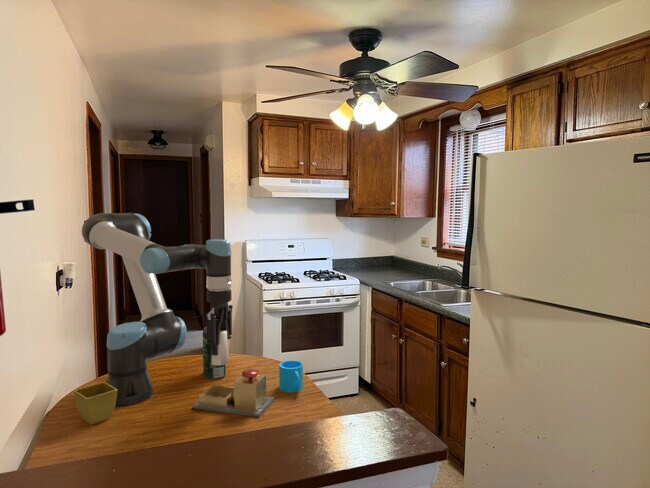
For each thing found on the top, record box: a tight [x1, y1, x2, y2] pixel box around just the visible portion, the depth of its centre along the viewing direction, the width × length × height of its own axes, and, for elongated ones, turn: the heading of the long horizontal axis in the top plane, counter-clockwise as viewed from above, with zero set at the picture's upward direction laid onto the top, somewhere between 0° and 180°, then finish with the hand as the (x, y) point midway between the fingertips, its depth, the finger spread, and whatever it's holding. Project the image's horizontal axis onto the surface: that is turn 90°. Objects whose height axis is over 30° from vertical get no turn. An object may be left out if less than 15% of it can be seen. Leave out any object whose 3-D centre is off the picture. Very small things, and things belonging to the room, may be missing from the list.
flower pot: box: [73, 381, 118, 425], centre depth 127 cm, size 9×9×9 cm
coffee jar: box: [202, 325, 227, 380], centre depth 162 cm, size 10×8×19 cm
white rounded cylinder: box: [219, 330, 228, 365], centre depth 138 cm, size 4×4×10 cm
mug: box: [278, 360, 304, 393], centre depth 150 cm, size 12×8×8 cm
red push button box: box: [192, 368, 275, 418], centre depth 138 cm, size 22×12×11 cm, turn 75°
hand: (220, 361), depth 139 cm, fingers closed on white rounded cylinder, 4 cm apart
